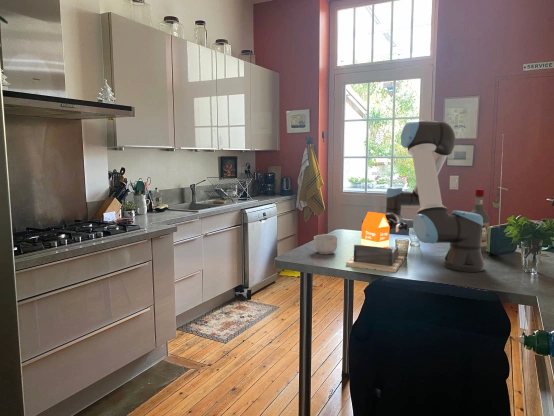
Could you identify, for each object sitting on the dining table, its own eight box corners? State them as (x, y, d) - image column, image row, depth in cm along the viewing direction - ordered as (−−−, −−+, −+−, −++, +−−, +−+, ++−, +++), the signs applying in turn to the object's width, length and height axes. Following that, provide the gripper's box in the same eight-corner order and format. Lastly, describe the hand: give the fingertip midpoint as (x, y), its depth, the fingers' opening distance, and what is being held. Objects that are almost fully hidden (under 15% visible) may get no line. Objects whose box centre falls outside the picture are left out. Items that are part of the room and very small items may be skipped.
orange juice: (371, 255, 180) (373, 210, 177) (388, 259, 173) (390, 213, 170) (360, 258, 175) (362, 212, 172) (376, 262, 168) (378, 214, 165)
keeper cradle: (395, 272, 159) (396, 251, 158) (346, 265, 168) (346, 245, 167) (404, 259, 179) (405, 241, 178) (359, 254, 188) (360, 236, 187)
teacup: (335, 256, 184) (336, 239, 183) (312, 255, 186) (312, 237, 185) (337, 249, 197) (338, 233, 196) (315, 248, 199) (315, 232, 198)
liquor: (460, 248, 204) (465, 188, 200) (476, 247, 206) (480, 188, 202) (474, 252, 195) (479, 190, 191) (489, 251, 197) (495, 190, 194)
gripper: (415, 230, 193) (409, 238, 174) (363, 226, 203) (352, 233, 184) (416, 215, 192) (410, 221, 173) (364, 211, 202) (353, 216, 183)
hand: (380, 227), depth 179 cm, fingers open, 13 cm apart
